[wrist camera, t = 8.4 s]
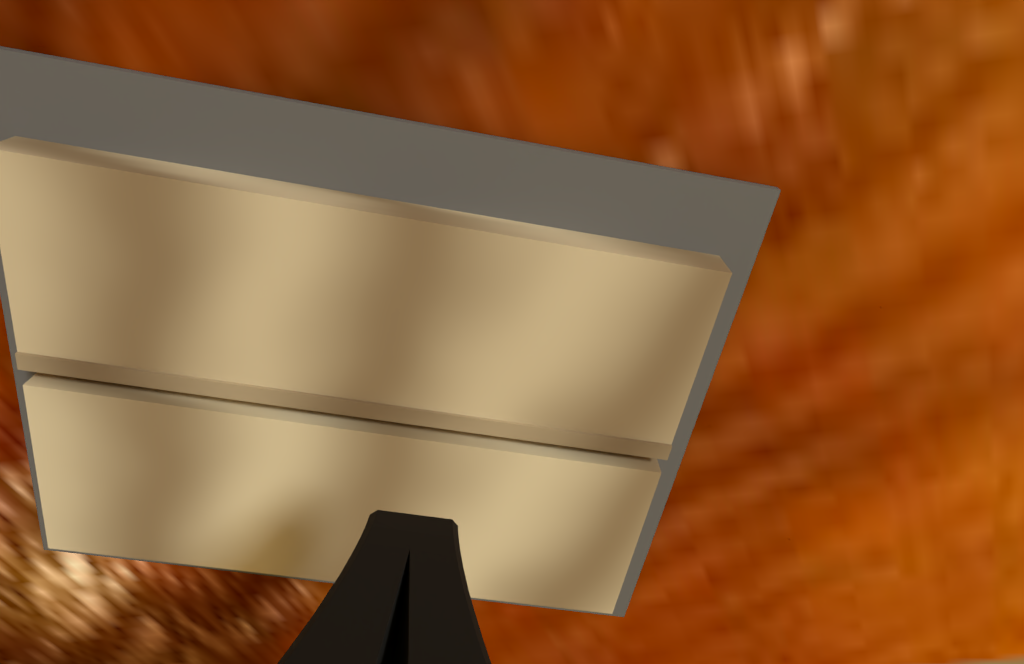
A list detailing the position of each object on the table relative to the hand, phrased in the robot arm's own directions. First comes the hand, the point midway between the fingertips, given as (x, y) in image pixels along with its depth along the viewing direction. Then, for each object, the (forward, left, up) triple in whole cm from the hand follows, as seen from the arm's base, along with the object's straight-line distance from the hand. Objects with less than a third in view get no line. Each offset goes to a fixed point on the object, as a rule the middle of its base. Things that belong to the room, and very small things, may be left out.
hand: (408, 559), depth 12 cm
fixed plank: (-2, 0, -9) cm, 10 cm away
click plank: (-2, -7, -9) cm, 11 cm away
